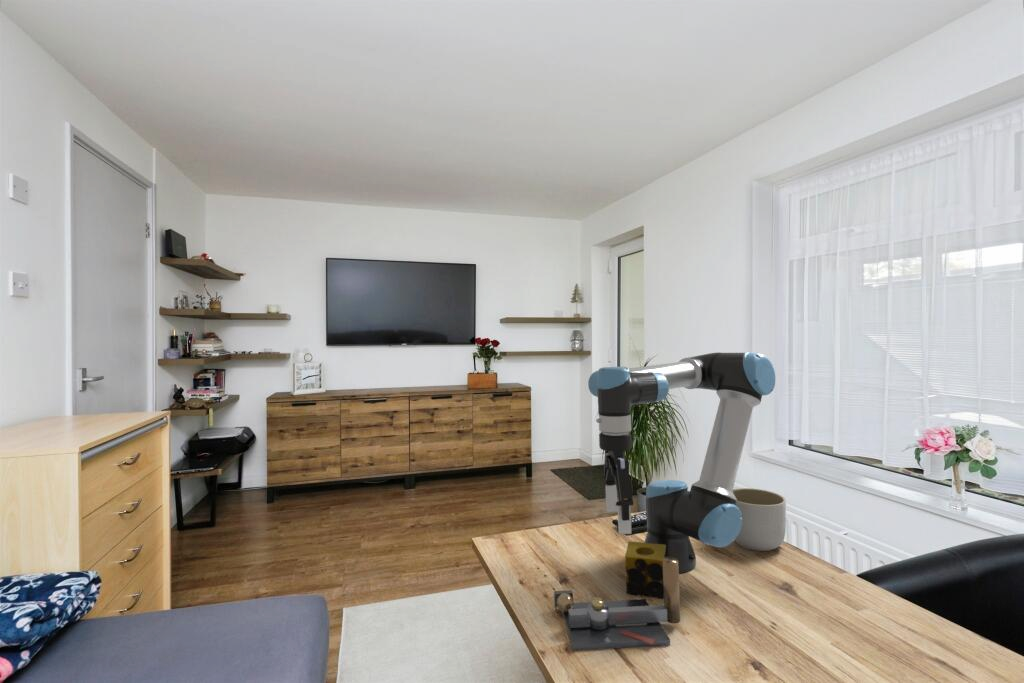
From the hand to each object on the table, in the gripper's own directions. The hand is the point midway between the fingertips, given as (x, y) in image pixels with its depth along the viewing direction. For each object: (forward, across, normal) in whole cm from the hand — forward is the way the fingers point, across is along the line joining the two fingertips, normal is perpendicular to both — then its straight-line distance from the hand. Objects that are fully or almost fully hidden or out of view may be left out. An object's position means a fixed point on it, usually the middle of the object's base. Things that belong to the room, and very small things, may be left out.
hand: (618, 521), depth 112 cm
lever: (+21, +5, 0) cm, 21 cm away
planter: (+23, -36, +51) cm, 66 cm away
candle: (+23, -12, +10) cm, 28 cm away
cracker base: (+22, +4, -4) cm, 23 cm away
